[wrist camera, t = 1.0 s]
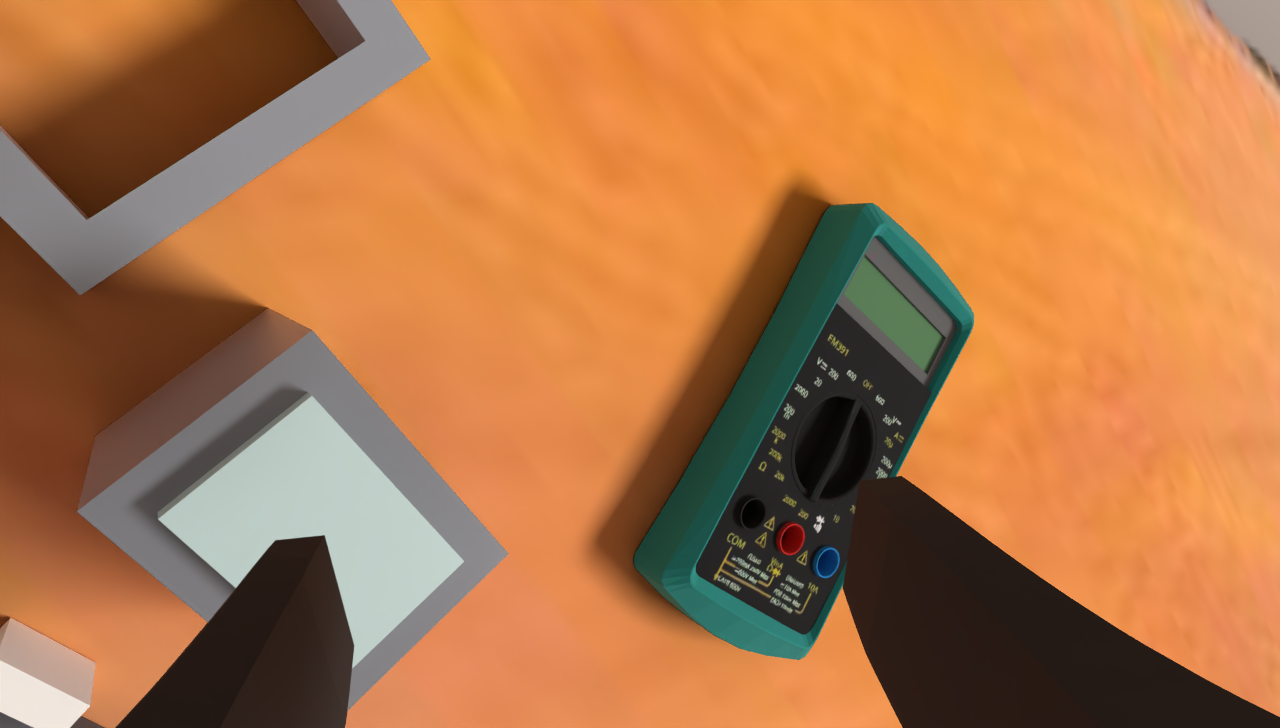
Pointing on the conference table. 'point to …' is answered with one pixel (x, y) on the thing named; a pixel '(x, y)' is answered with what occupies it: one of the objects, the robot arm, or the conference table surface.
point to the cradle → (211, 150)
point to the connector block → (286, 490)
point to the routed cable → (42, 681)
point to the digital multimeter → (808, 435)
